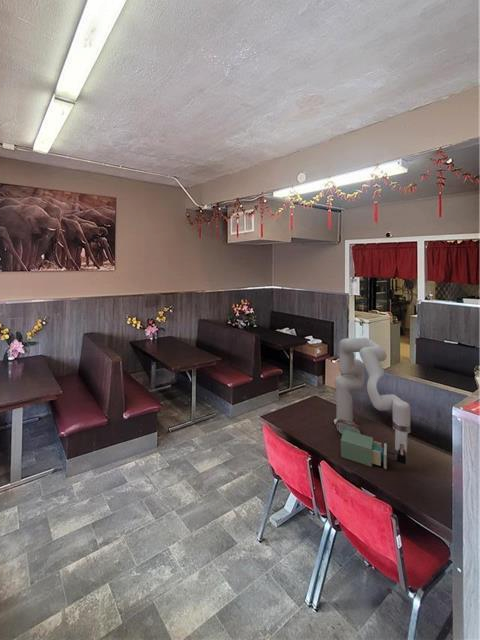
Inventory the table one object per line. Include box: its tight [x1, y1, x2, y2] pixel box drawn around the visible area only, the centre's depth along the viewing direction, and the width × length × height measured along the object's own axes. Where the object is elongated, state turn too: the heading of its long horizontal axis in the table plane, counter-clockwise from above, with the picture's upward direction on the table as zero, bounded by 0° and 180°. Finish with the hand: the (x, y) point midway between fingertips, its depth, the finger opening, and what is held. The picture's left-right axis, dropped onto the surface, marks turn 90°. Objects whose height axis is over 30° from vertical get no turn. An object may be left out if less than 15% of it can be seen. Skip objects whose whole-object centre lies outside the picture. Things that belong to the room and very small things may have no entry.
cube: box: [372, 445, 384, 463], centre depth 161 cm, size 5×5×5 cm
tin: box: [335, 419, 364, 435], centre depth 184 cm, size 15×3×8 cm, turn 47°
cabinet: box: [340, 430, 374, 468], centre depth 166 cm, size 15×13×9 cm
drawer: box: [372, 440, 399, 470], centre depth 161 cm, size 18×11×7 cm, turn 56°
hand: (401, 462), depth 154 cm, fingers closed
